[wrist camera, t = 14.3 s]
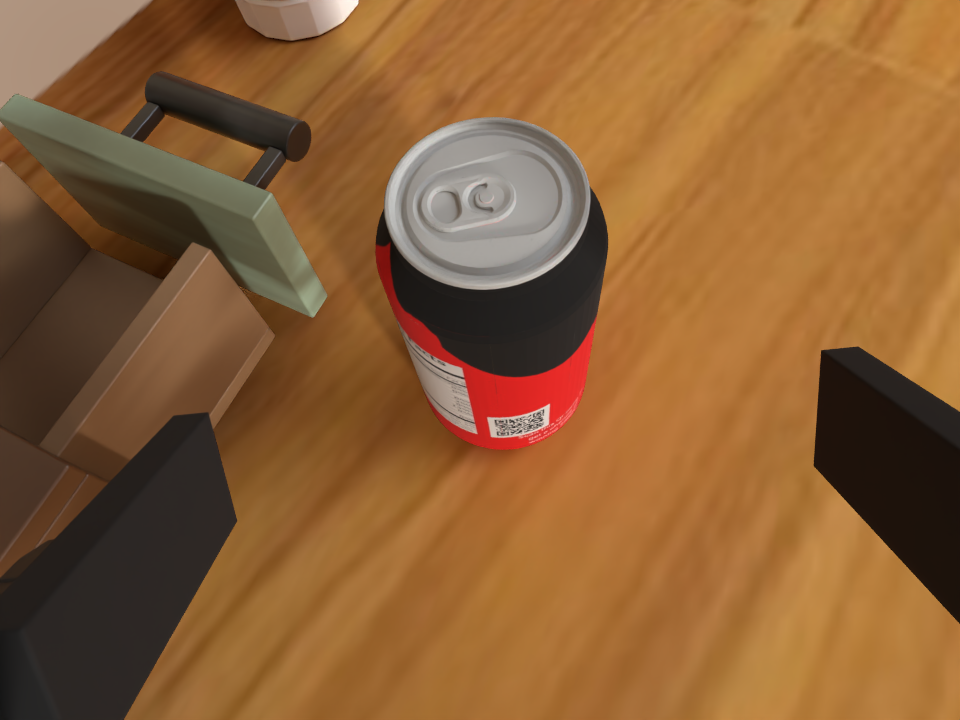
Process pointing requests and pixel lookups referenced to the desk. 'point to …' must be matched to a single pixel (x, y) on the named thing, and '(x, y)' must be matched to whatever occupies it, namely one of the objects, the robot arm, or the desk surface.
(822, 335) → the desk surface
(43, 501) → the cabinet
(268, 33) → the white cup
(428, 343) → the beverage can
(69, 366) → the drawer
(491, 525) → the desk surface
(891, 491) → the robot arm
